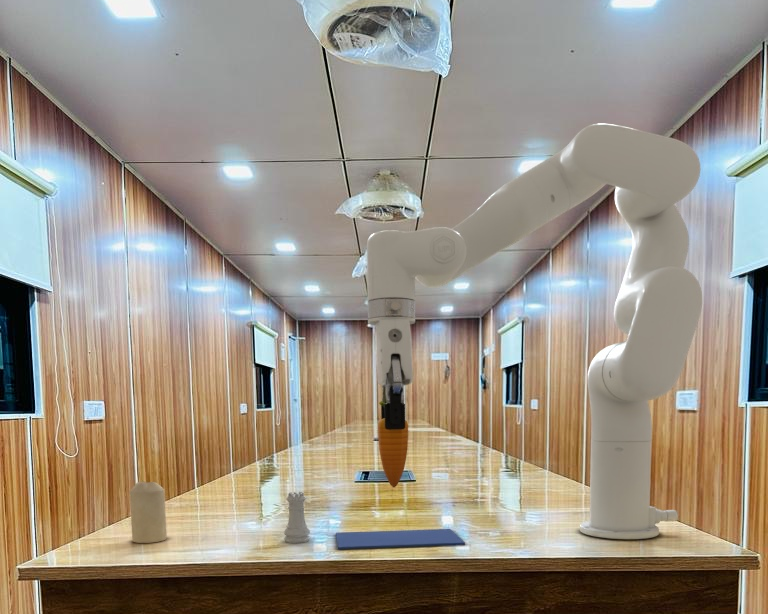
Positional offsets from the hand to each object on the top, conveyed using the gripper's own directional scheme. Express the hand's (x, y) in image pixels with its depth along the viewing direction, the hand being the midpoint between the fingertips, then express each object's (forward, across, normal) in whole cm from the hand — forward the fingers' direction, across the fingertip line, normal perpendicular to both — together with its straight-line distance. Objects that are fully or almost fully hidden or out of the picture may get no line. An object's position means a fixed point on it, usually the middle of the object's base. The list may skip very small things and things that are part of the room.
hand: (393, 427), depth 106 cm
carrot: (+10, 0, 0) cm, 10 cm away
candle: (+19, +7, +41) cm, 46 cm away
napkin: (+18, 0, 0) cm, 18 cm away
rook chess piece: (+19, +2, +16) cm, 25 cm away
